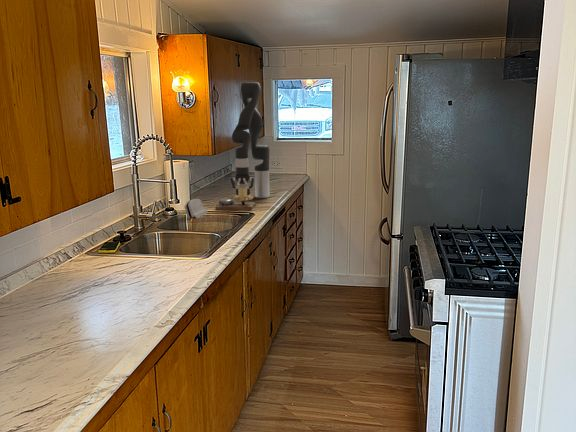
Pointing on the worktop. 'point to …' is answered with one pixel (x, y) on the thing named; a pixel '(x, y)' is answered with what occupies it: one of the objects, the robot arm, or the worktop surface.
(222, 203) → the sun gear
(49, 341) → the worktop surface
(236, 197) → the planet gear
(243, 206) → the carrier
